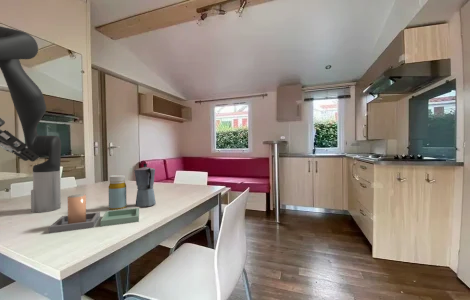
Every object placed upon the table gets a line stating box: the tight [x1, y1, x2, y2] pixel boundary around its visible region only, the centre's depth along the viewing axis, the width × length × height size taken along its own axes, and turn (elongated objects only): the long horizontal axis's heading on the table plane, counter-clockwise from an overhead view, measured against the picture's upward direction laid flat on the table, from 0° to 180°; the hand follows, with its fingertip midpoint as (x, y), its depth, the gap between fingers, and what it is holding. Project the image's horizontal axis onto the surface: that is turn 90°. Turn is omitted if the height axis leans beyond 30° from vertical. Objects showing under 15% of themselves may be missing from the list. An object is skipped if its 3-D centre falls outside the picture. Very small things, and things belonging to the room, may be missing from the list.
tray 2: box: [100, 207, 140, 227], centre depth 81 cm, size 12×12×2 cm
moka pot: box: [133, 163, 156, 208], centre depth 102 cm, size 10×15×20 cm, turn 43°
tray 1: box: [48, 211, 101, 234], centre depth 76 cm, size 12×12×2 cm
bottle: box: [108, 174, 127, 211], centre depth 97 cm, size 7×7×15 cm
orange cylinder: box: [67, 193, 87, 224], centre depth 76 cm, size 5×5×10 cm
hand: (32, 159), depth 66 cm, fingers open, 8 cm apart
